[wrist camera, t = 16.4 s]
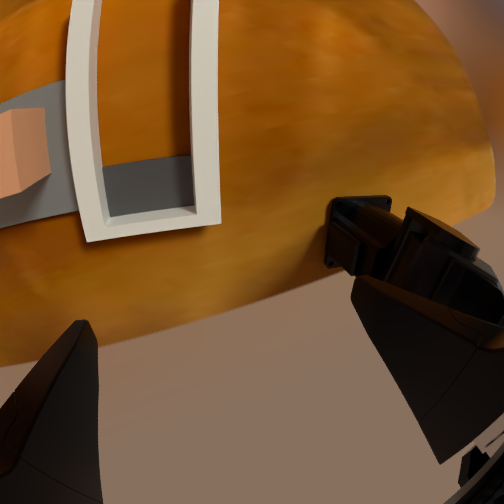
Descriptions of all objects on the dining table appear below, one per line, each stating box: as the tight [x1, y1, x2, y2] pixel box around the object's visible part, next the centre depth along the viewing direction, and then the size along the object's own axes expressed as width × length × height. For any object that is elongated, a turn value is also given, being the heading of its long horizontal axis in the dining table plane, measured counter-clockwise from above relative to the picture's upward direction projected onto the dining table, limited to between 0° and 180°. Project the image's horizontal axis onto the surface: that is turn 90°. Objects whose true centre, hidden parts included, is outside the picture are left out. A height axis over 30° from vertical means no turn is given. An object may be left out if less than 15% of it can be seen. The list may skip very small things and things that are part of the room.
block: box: [0, 108, 51, 198], centre depth 10 cm, size 4×4×4 cm
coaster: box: [0, 79, 79, 228], centre depth 13 cm, size 9×9×1 cm
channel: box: [66, 0, 221, 242], centre depth 13 cm, size 9×17×2 cm, turn 0°
